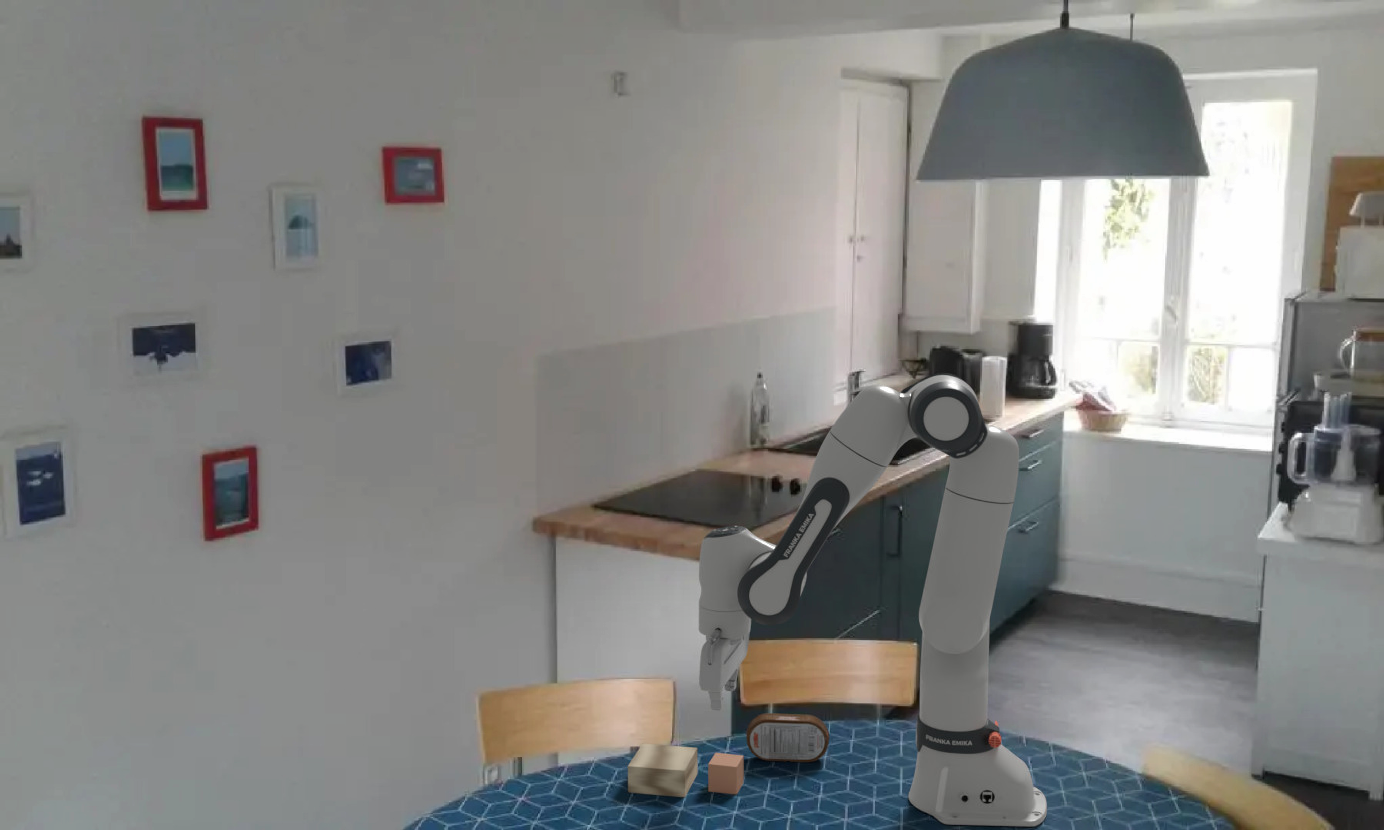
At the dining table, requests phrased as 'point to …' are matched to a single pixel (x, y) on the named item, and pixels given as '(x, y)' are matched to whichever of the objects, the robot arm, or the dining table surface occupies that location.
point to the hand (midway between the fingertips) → (723, 699)
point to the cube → (725, 773)
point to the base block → (662, 770)
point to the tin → (787, 737)
